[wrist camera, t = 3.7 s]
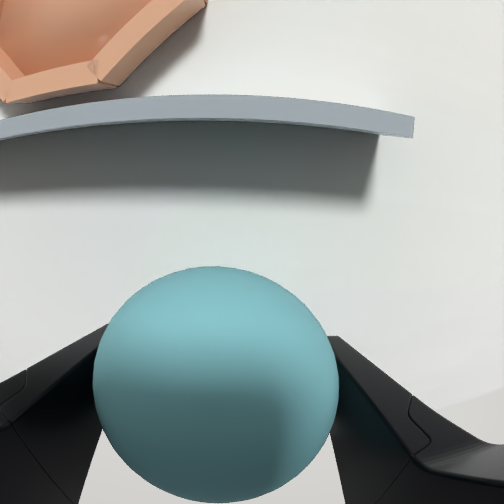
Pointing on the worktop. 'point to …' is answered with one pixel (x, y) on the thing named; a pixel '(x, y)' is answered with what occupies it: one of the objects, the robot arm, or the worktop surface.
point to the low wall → (211, 114)
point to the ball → (215, 384)
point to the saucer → (80, 43)
